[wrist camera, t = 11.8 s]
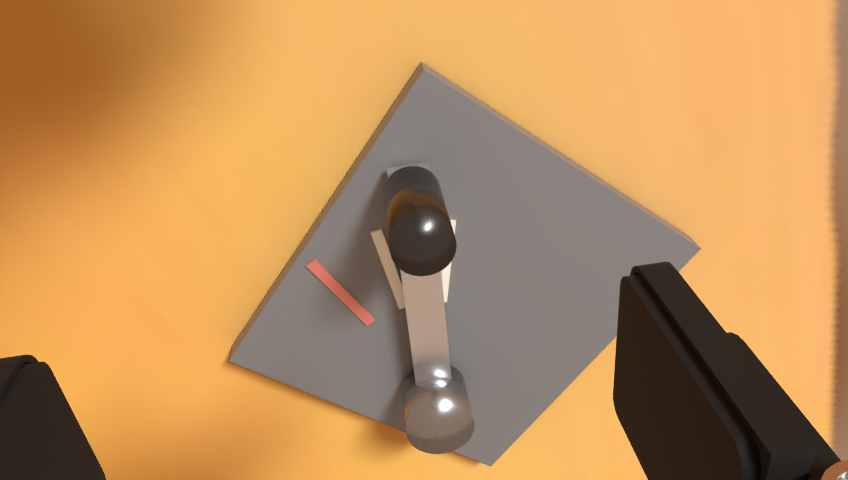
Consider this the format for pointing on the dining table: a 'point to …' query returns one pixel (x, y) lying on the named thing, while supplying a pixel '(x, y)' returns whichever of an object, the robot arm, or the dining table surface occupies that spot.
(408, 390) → the swing lever
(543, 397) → the board
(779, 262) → the dining table surface
